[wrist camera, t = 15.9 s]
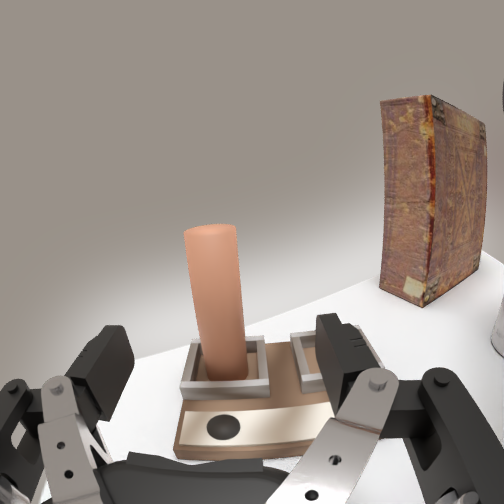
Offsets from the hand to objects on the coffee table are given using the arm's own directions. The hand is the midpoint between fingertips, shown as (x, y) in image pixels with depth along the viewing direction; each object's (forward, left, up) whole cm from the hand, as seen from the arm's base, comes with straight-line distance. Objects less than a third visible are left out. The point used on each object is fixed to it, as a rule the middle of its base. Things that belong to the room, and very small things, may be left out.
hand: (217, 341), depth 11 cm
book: (-36, -31, -14) cm, 49 cm away
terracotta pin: (+1, -12, -12) cm, 17 cm away
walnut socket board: (-4, -9, -14) cm, 17 cm away
